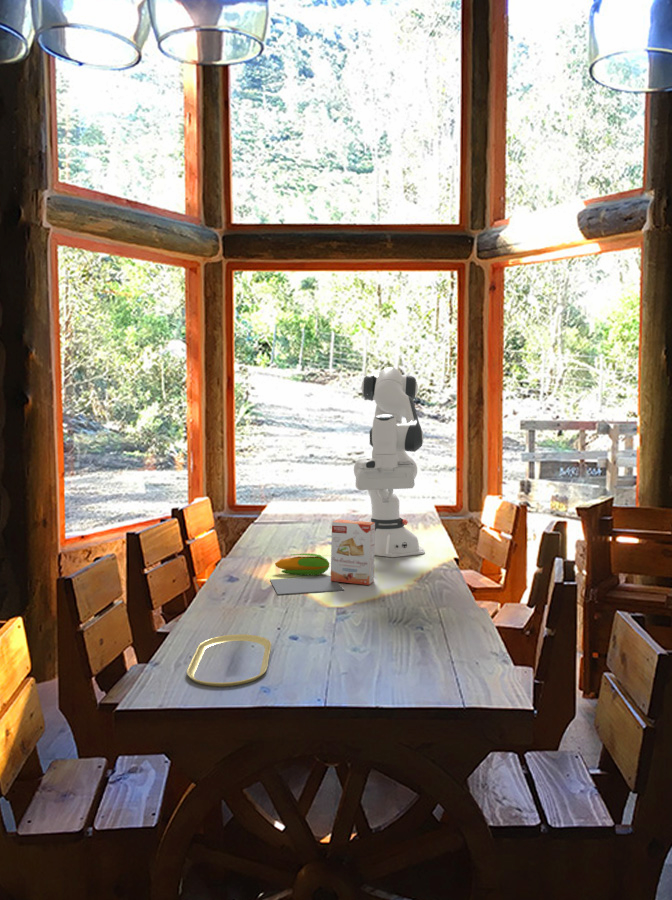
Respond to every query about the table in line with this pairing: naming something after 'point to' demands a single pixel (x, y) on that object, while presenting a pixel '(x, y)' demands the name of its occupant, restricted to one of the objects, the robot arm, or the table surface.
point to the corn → (304, 565)
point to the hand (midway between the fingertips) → (385, 502)
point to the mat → (305, 585)
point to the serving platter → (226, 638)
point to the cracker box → (352, 551)
